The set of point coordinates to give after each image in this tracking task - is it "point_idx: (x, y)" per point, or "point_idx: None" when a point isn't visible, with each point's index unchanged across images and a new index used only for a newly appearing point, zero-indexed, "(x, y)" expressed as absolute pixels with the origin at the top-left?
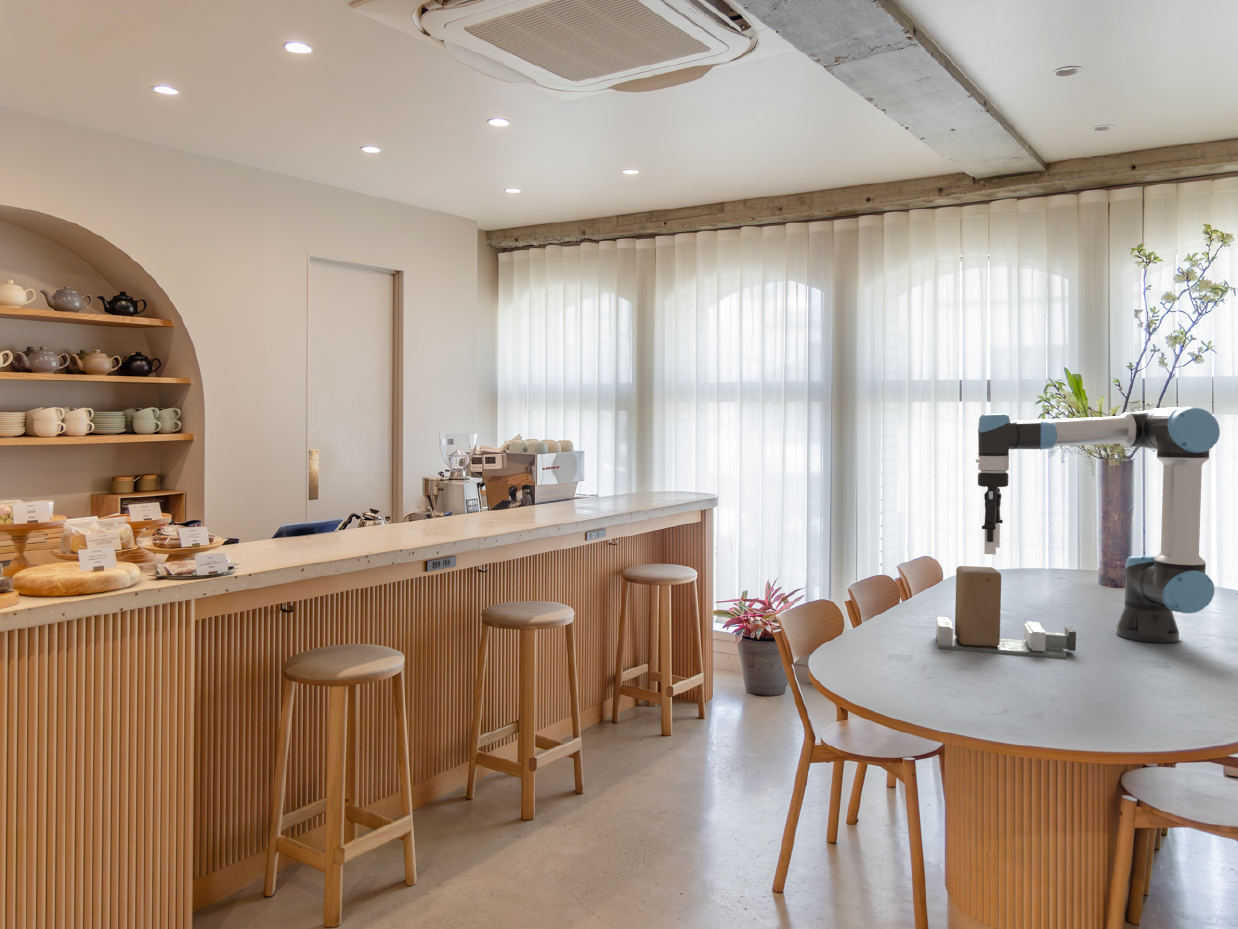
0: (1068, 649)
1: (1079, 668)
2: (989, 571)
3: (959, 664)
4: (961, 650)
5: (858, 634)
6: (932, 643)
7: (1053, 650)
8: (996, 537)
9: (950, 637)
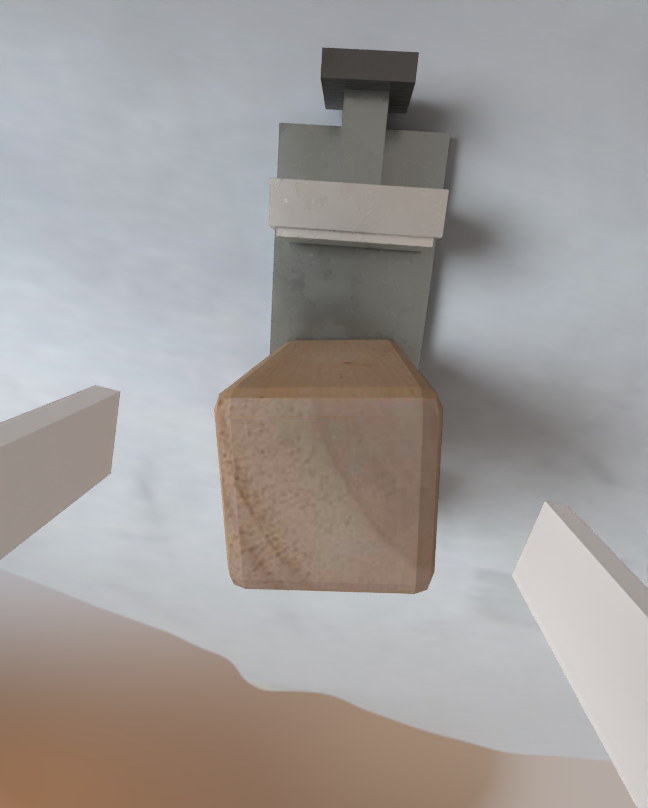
0: (402, 112)
1: (564, 124)
2: (408, 458)
3: (559, 471)
4: None
5: (288, 662)
6: None
7: (398, 167)
8: (56, 451)
9: None
